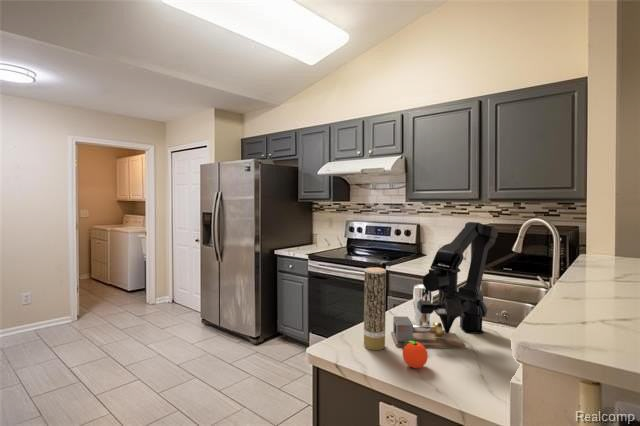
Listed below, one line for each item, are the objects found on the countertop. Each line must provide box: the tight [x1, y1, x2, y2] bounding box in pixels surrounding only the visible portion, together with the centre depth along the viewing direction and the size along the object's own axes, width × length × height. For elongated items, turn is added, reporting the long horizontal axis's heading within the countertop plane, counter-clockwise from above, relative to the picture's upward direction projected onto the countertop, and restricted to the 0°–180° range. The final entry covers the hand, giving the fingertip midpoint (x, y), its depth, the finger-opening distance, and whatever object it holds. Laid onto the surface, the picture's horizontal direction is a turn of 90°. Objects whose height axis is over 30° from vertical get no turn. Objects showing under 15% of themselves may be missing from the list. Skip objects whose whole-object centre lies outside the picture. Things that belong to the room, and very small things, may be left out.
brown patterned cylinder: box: [363, 267, 387, 351], centre depth 111 cm, size 7×7×25 cm
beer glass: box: [412, 283, 434, 326], centre depth 130 cm, size 7×7×15 cm
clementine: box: [402, 341, 429, 369], centre depth 99 cm, size 8×7×7 cm
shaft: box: [413, 322, 444, 337], centre depth 116 cm, size 12×5×5 cm, turn 87°
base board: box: [390, 331, 467, 350], centre depth 116 cm, size 22×10×1 cm, turn 87°
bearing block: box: [392, 316, 414, 343], centre depth 116 cm, size 5×8×6 cm, turn 177°
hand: (446, 332), depth 116 cm, fingers closed
